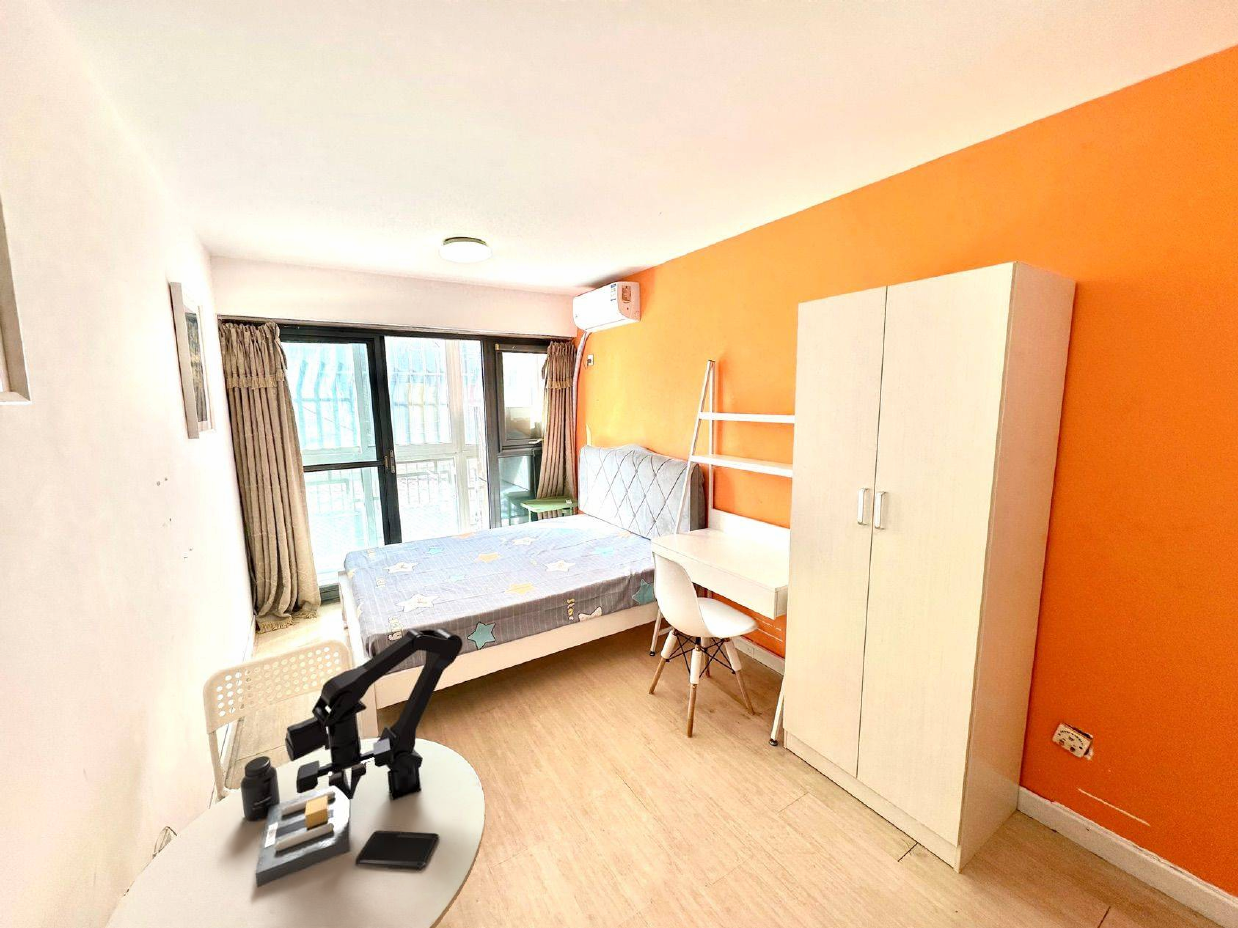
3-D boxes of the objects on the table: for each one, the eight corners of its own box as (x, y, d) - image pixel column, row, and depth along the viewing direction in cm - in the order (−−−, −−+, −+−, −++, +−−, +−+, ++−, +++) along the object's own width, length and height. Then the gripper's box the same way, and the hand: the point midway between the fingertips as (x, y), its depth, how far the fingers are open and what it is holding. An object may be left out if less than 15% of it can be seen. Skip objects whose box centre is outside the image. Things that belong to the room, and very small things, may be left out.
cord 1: (334, 826, 107) (333, 819, 107) (334, 831, 106) (333, 825, 105) (275, 847, 102) (274, 841, 102) (274, 854, 101) (273, 847, 101)
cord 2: (336, 794, 116) (335, 787, 116) (335, 798, 114) (335, 792, 114) (281, 812, 111) (280, 806, 111) (280, 817, 110) (279, 811, 109)
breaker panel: (350, 791, 120) (349, 780, 120) (350, 850, 105) (348, 837, 104) (270, 818, 113) (269, 806, 112) (257, 886, 97) (255, 873, 97)
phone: (423, 867, 100) (352, 862, 101) (424, 872, 100) (353, 867, 101) (440, 832, 107) (374, 829, 109) (441, 837, 108) (375, 833, 109)
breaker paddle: (328, 807, 112) (327, 795, 111) (328, 820, 108) (326, 808, 108) (308, 814, 110) (306, 802, 110) (306, 828, 107) (305, 815, 106)
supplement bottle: (262, 824, 111) (255, 776, 110) (236, 820, 113) (230, 772, 111) (287, 800, 118) (282, 754, 116) (263, 796, 120) (257, 750, 118)
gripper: (387, 702, 121) (393, 760, 123) (297, 727, 113) (305, 789, 115) (390, 728, 111) (396, 791, 114) (292, 758, 103) (300, 825, 105)
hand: (350, 797), depth 112 cm, fingers closed
